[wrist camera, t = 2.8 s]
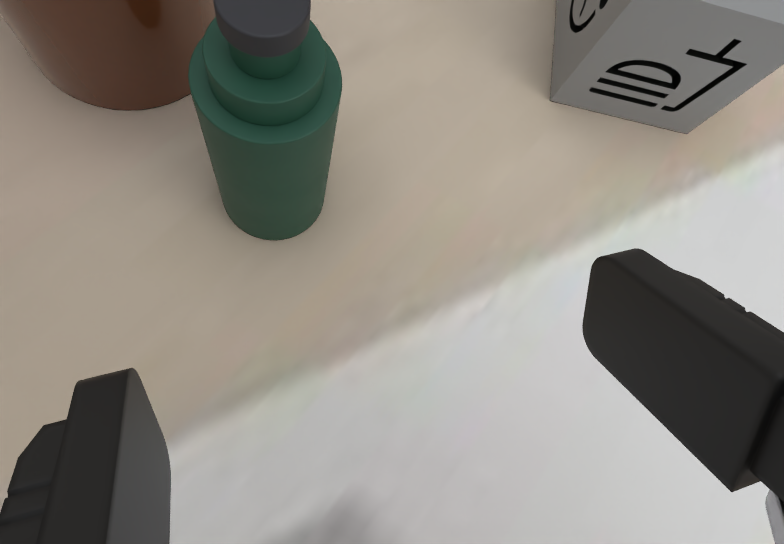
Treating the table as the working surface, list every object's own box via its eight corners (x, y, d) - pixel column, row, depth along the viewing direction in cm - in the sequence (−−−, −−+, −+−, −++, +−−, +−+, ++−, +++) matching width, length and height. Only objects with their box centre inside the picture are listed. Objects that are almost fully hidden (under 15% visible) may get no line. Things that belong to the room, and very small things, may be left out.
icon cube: (686, 133, 37) (823, 35, 28) (549, 100, 36) (644, -15, 26) (684, 14, 40) (807, -112, 31) (557, -21, 39) (645, -164, 29)
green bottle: (200, 194, 30) (121, -12, 16) (271, 130, 32) (258, -108, 18) (277, 260, 30) (267, 113, 16) (344, 192, 32) (390, 3, 17)
